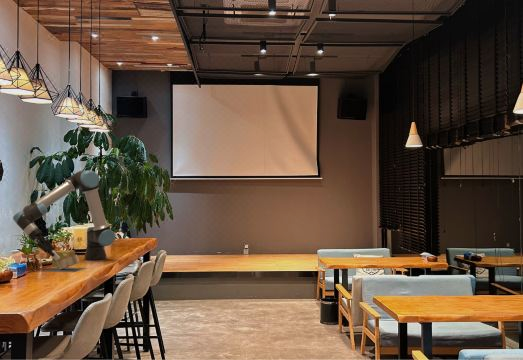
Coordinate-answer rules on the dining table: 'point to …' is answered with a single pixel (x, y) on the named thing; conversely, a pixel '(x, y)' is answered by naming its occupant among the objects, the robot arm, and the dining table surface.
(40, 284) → the dining table surface
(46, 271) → the mat
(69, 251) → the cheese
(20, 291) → the dining table surface
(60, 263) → the block
